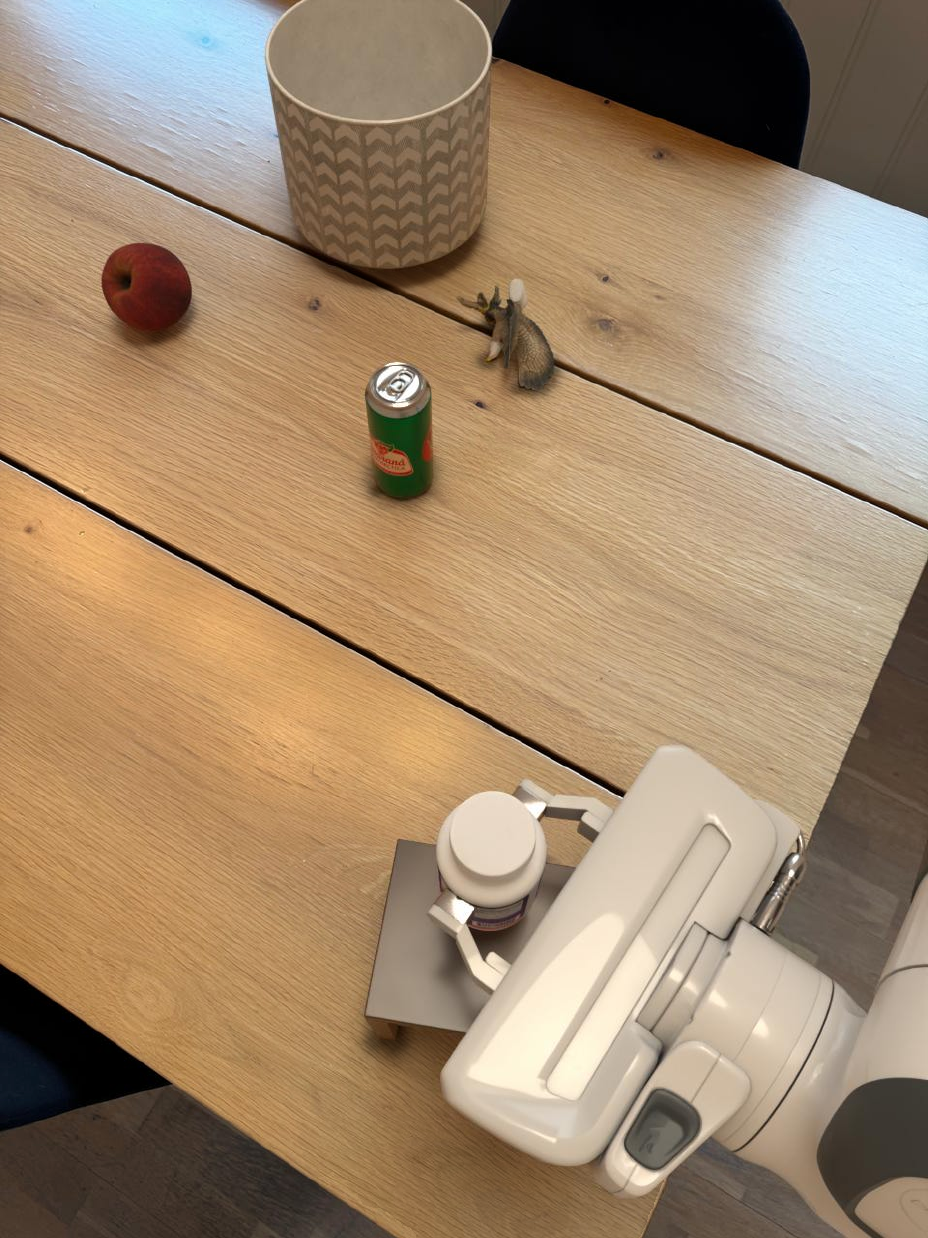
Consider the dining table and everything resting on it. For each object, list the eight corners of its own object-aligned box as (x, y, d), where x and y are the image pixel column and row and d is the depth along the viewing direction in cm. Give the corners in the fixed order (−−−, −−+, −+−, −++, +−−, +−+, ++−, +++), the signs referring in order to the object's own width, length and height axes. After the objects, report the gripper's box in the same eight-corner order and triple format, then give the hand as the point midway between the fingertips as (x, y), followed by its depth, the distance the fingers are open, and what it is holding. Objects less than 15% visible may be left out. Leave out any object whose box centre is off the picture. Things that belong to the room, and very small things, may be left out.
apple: (100, 314, 95) (72, 247, 88) (171, 275, 97) (149, 207, 90) (144, 361, 92) (118, 296, 85) (215, 319, 95) (196, 253, 88)
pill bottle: (476, 813, 57) (479, 753, 48) (557, 869, 55) (575, 818, 47) (418, 893, 55) (410, 846, 46) (501, 954, 53) (508, 917, 45)
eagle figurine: (438, 337, 93) (492, 389, 88) (469, 263, 89) (527, 314, 84) (500, 346, 98) (553, 396, 93) (531, 276, 94) (589, 325, 89)
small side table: (562, 910, 70) (582, 868, 59) (544, 1066, 66) (563, 1051, 55) (406, 885, 71) (397, 838, 60) (377, 1037, 66) (363, 1016, 56)
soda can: (362, 481, 87) (349, 388, 76) (399, 443, 88) (392, 347, 78) (408, 511, 85) (402, 421, 75) (445, 472, 87) (444, 379, 76)
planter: (342, 138, 107) (323, -41, 90) (513, 185, 104) (524, 8, 87) (261, 260, 98) (224, 87, 82) (443, 315, 95) (441, 146, 79)
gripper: (845, 821, 48) (595, 664, 51) (616, 1235, 40) (341, 1016, 44) (804, 855, 53) (582, 712, 57) (596, 1224, 46) (354, 1031, 49)
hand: (475, 846), depth 50 cm, fingers closed on pill bottle, 5 cm apart
